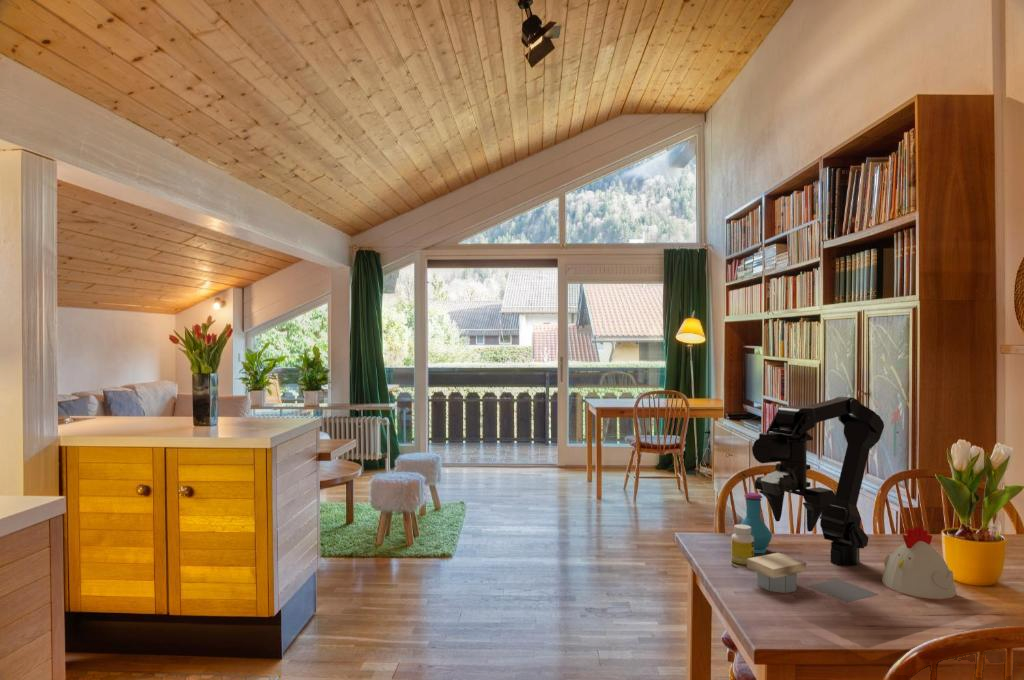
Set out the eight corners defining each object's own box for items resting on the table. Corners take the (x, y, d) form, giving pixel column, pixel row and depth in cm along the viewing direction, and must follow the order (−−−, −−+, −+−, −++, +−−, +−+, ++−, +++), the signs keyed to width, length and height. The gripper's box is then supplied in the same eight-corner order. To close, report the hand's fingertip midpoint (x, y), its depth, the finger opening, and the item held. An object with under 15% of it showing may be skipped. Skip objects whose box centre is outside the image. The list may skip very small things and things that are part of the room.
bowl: (775, 583, 147) (775, 561, 147) (804, 595, 140) (803, 572, 140) (749, 588, 143) (749, 566, 144) (777, 601, 136) (777, 578, 136)
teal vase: (768, 557, 165) (768, 499, 165) (731, 551, 169) (731, 495, 170) (774, 547, 172) (774, 492, 172) (739, 542, 177) (739, 488, 177)
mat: (837, 585, 146) (837, 578, 146) (878, 601, 137) (878, 594, 137) (806, 592, 141) (806, 585, 141) (847, 609, 132) (847, 602, 132)
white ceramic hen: (868, 587, 145) (867, 521, 145) (910, 579, 150) (910, 515, 150) (926, 611, 132) (926, 538, 132) (971, 601, 137) (971, 532, 137)
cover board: (778, 561, 147) (778, 552, 147) (806, 571, 140) (806, 562, 140) (746, 567, 143) (746, 558, 143) (773, 578, 136) (773, 569, 136)
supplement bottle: (755, 570, 155) (755, 530, 155) (732, 568, 156) (732, 528, 157) (752, 562, 161) (752, 524, 161) (729, 561, 162) (729, 522, 162)
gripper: (738, 456, 155) (738, 520, 155) (802, 469, 138) (802, 541, 138) (771, 453, 159) (771, 515, 159) (837, 465, 142) (837, 535, 142)
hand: (793, 526), depth 149 cm, fingers open, 9 cm apart
